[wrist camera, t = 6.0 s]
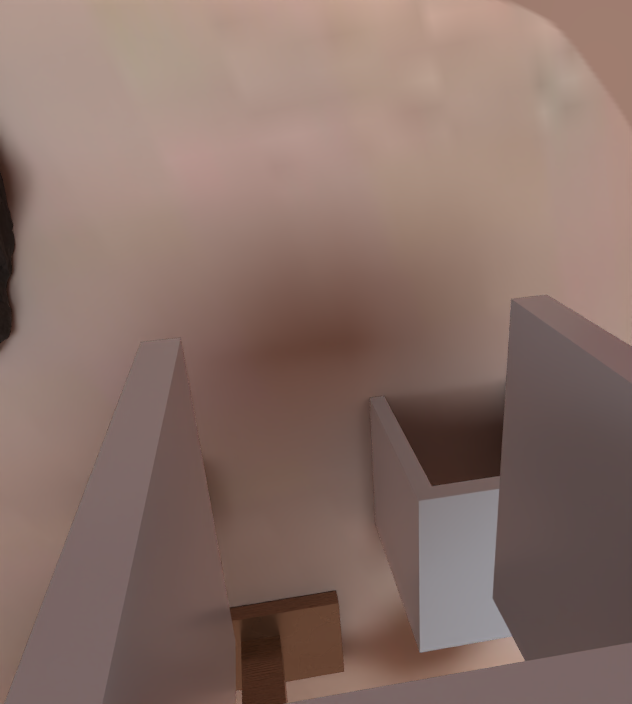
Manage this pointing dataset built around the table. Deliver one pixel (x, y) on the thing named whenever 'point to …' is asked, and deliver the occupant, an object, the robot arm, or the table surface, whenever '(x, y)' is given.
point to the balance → (285, 644)
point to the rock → (5, 262)
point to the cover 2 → (435, 541)
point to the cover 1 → (206, 568)
